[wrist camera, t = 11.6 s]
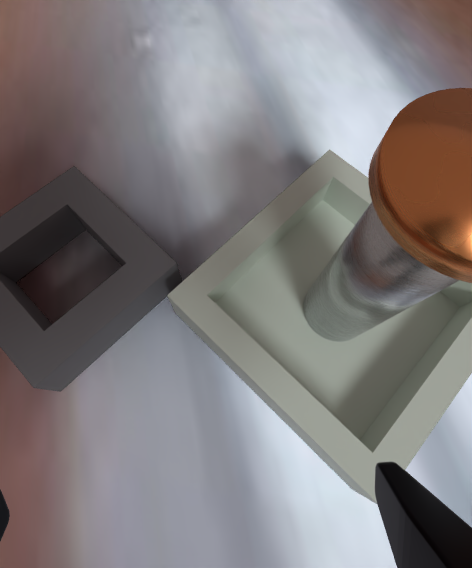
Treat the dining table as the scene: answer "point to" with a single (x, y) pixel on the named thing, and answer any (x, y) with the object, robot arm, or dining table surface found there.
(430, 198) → the pin
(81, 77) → the dining table surface
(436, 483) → the dining table surface
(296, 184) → the tray
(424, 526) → the robot arm
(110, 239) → the pin socket
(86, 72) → the dining table surface
